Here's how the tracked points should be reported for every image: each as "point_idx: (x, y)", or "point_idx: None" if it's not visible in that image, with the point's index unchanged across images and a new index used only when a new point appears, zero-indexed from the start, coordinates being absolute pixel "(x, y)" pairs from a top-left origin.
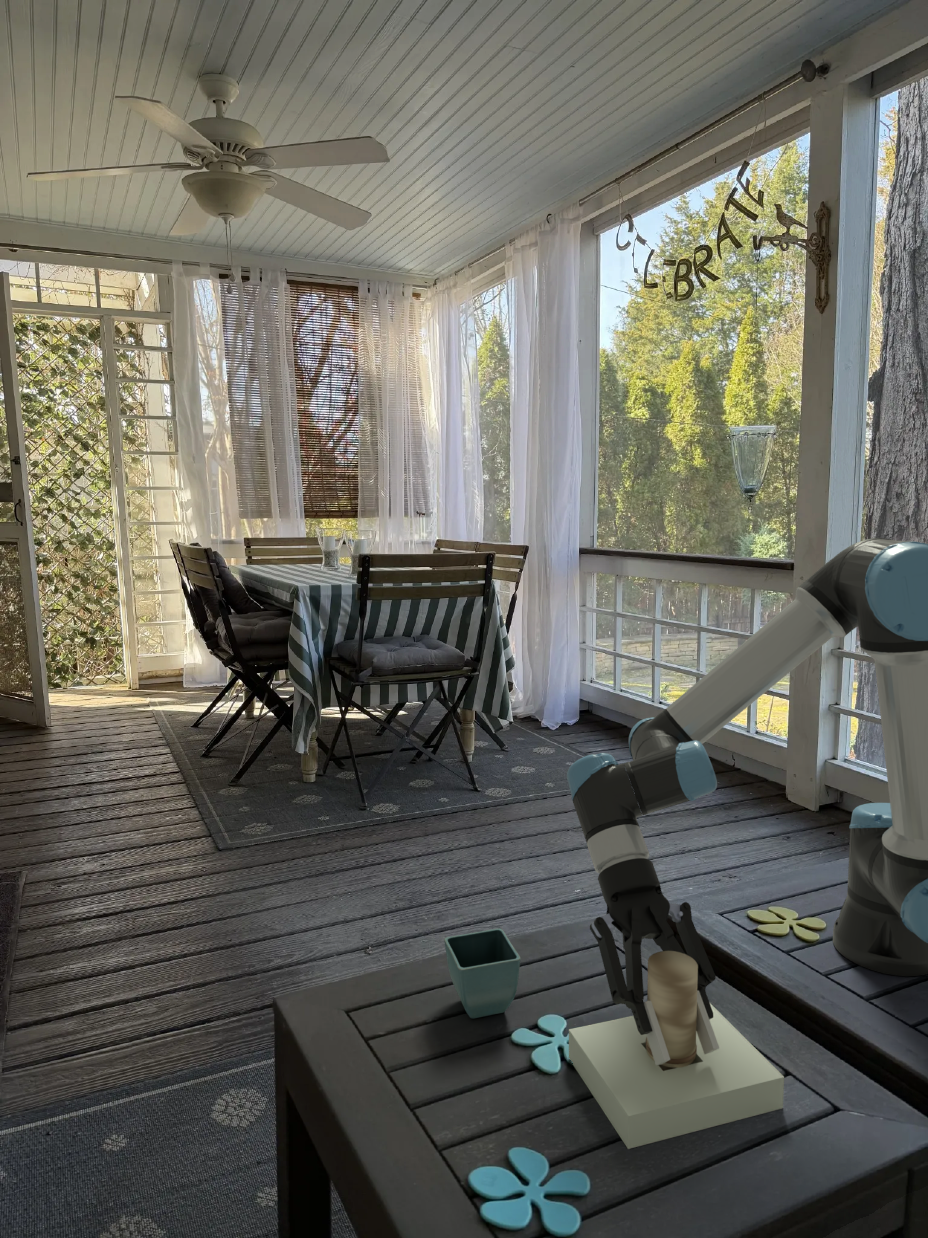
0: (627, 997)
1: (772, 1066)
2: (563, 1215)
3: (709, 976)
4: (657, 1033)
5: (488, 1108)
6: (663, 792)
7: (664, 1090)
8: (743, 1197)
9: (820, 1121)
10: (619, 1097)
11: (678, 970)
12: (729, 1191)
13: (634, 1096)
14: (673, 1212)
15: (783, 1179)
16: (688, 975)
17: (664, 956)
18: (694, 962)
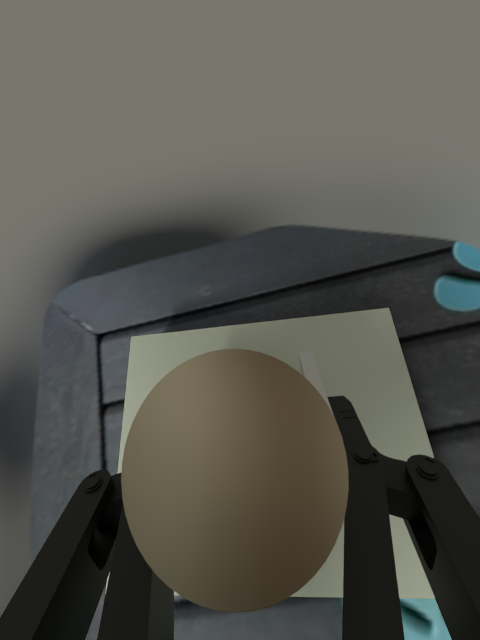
0: (410, 457)
1: (130, 360)
2: (474, 255)
3: (99, 482)
4: (317, 382)
5: None
6: None
7: (313, 346)
8: (267, 250)
9: (129, 323)
10: (394, 346)
11: (229, 398)
12: (277, 258)
13: (367, 343)
14: (345, 244)
15: (217, 263)
16: (208, 356)
17: (234, 546)
18: (134, 439)
